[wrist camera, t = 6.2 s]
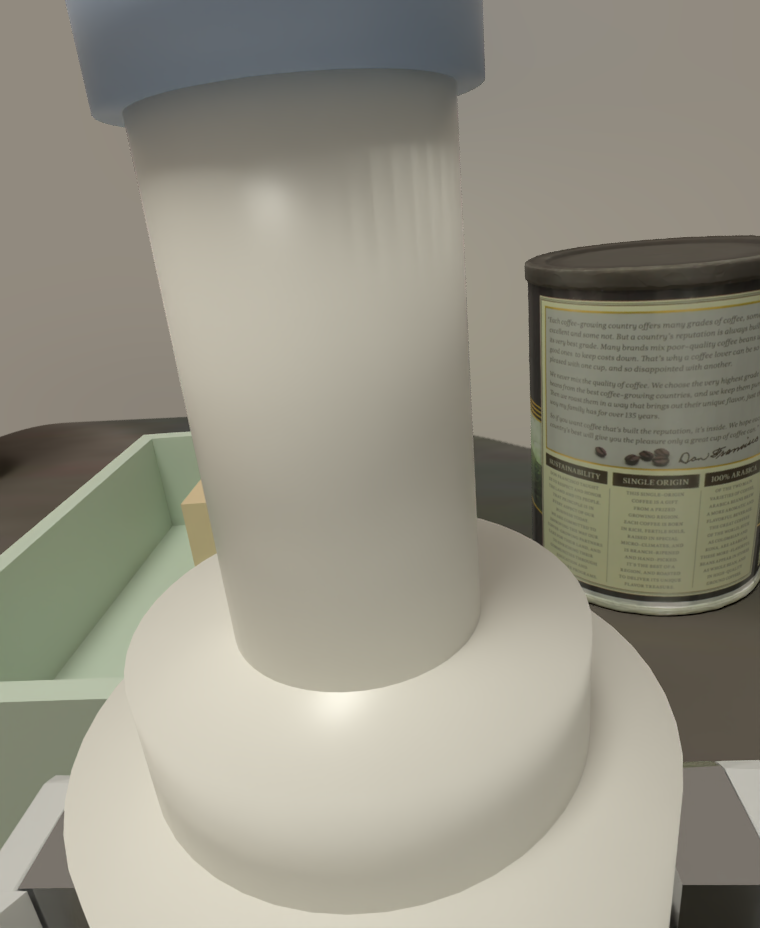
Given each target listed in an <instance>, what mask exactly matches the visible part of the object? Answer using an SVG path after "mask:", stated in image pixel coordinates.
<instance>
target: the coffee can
mask: <svg viewBox="0 0 760 928" xmlns="http://www.w3.org/2000/svg"><path fill="white" fill-rule="evenodd" d="M525 279H526V280H527V281H528V300H529V362H530V401H531V402H530V403H531V463H532V525H533V526H532V531H533V532H532V534H533V541H535V542H537V543H538V544H540V545H541V546H543V547H544V548H546V549H547V550H549V551H550V552H551V553H553V554H554V555H555V556H556V557H557V558H558V559H559V560H560V561H561V562H563V563H564V564H565V565H566V566H567V567H568V569H569V570H570V571H571V572H572V574H573V575H574V576H575V578H576V579H577V580H578V582H579V584H580V585H581V587H582V589H583V591H584V593H585V595H586V597H587V600H588V602H589V603H592V604H595V605H598V606H601V607H605V608H609V609H612V610H616V611H621V612H631V613H639V614H644V615H684V614H694V613H701V612H705V611H710V610H715V609H719V608H722V607H723V606H726V605H729V604H731V603H733V602H736V601H738V600H739V599H741V598H743V597H745V596H746V595H748V594H749V593H750V592H751V591H752V590H753V589H754V588H755V586H756V585H757V583H758V582H759V580H760V236H753V235H749V236H707V237H682V238H668V239H653V240H641V241H630V242H620V243H609V244H601V245H592V246H585V247H577V248H572V249H566V250H561V251H555V252H550V253H547V254H542V255H540V256H536V257H534V258H532V259H530V260H528V261H527V262H526V263H525Z"/></svg>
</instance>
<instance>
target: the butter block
mask: <svg viewBox="0 0 760 928" xmlns="http://www.w3.org/2000/svg"><path fill="white" fill-rule="evenodd" d="M181 508H182V513H183V517H184V521H185V526H186V530H187V534H188V539H189V543H190V547H191V552H192V556H193V561H194V565H195V566H197V565H198V564H200V563H201V562H203V561H204V560H206V559H208V558H209V557H211V556H213V555H215V554H216V553H217V552H216V547H215V542H214V538H213V533H212V528H211V524H210V519H209V514H208V510H207V505H206V501H205V496H204V491H203V487H202V482H201V480H200V481H199V482H198V483H197V485H196V486H195V487H194V488H193V490H192V491H191V492H190V493H189V495H188V496H187V497H186V498H185V500H184V501H183V502H182V503H181Z"/></svg>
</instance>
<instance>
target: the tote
mask: <svg viewBox="0 0 760 928" xmlns="http://www.w3.org/2000/svg"><path fill="white" fill-rule="evenodd" d="M200 480H201V477H200V473H199V468H198V463H197V459H196V454H195V449H194V445H193V440H192V435H191V432H178V433H164V434H150V435H143V436H142V437H141V438H139V439H138V440H137V441H136V442H135V443H133V444H132V445H131V446H130V447H129V448H127V449H126V450H125V451H124V452H123V453H121V454H120V455H119V456H118V457H117V458H116V459H114V460H113V461H112V462H111V463H110V464H108V465H107V466H106V467H105V468H104V469H102V470H101V471H100V472H99V473H98V474H96V475H95V476H94V477H93V478H92V479H91V480H89V481H88V482H87V483H86V484H85V485H83V486H82V487H81V488H80V489H79V490H77V491H76V492H75V493H74V494H73V495H71V496H70V497H69V498H68V499H67V500H66V501H64V502H63V503H62V504H61V505H60V506H58V507H57V508H56V509H55V510H54V511H52V512H51V513H50V514H49V515H48V516H46V517H45V518H44V519H43V520H42V521H41V522H39V523H38V524H37V525H36V526H35V527H33V528H32V529H31V530H30V531H29V532H27V533H26V534H25V535H24V536H23V537H21V538H20V539H19V540H18V541H17V542H16V543H14V544H13V545H12V546H11V547H10V548H8V549H7V550H6V551H5V552H4V553H2V554H1V555H0V850H1V848H2V847H3V845H4V844H5V842H6V841H7V839H8V838H9V836H10V835H11V833H12V832H13V830H14V829H15V827H16V826H17V824H18V823H19V821H20V820H21V818H22V817H23V815H24V813H25V812H26V810H27V809H28V807H29V806H30V804H31V803H32V801H33V800H34V798H35V797H36V795H37V794H38V792H39V791H40V789H41V788H42V786H43V785H44V784H45V783H46V782H47V781H49V780H50V779H51V778H53V777H54V776H56V775H71V770H72V767H73V765H74V762H75V759H76V757H77V754H78V751H79V749H80V746H81V744H82V741H83V739H84V737H85V735H86V733H87V731H88V730H89V728H90V726H91V724H92V722H93V720H94V719H95V717H96V715H97V713H98V712H99V710H100V709H101V707H102V706H103V705H104V703H105V702H106V700H107V699H108V698H109V696H110V695H111V693H112V692H113V691H114V689H115V688H116V687H117V686H118V684H119V683H120V682H121V681H122V680H123V679H124V668H125V661H126V654H127V651H128V648H129V645H130V642H131V639H132V637H133V634H134V632H135V631H136V629H137V627H138V625H139V623H140V622H141V620H142V618H143V617H144V615H145V614H146V613H147V611H148V610H149V609H150V607H151V606H152V605H153V604H154V602H155V601H156V600H157V599H158V598H159V597H160V596H161V595H162V594H163V593H164V592H165V591H166V590H167V589H168V588H169V587H170V586H171V585H172V584H173V583H174V582H176V581H177V580H178V579H179V578H181V577H182V576H183V575H184V574H185V573H187V572H188V571H189V570H191V569H192V568H194V567H195V565H194V561H193V556H192V552H191V547H190V543H189V539H188V534H187V530H186V526H185V521H184V517H183V513H182V508H181V503H182V502H183V501H184V500H185V498H186V497H187V496H188V495H189V493H190V492H191V491H192V490H193V488H194V487H195V486H196V485H197V483H198V482H199V481H200Z"/></svg>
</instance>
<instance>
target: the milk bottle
mask: <svg viewBox="0 0 760 928" xmlns="http://www.w3.org/2000/svg"><path fill="white" fill-rule="evenodd" d="M482 1H483V0H65V2H66V6H67V10H68V14H69V19H70V23H71V28H72V32H73V36H74V41H75V45H76V49H77V54H78V58H79V62H80V67H81V71H82V75H83V80H84V84H85V89H86V93H87V97H88V102H89V106H90V110H91V115H92V116H93V117H94V118H95V119H96V120H98V121H100V122H102V123H106V124H110V125H114V126H120V127H125V128H126V132H127V137H128V142H129V146H130V151H131V156H132V160H133V165H134V170H135V174H136V179H137V184H138V188H139V193H140V197H141V202H142V207H143V212H144V216H145V221H146V225H147V230H148V235H149V239H150V244H151V249H152V254H153V258H154V263H155V268H156V272H157V277H158V281H159V286H160V291H161V295H162V300H163V305H164V309H165V314H166V319H167V323H168V328H169V333H170V337H171V342H172V347H173V351H174V356H175V360H176V365H177V370H178V375H179V379H180V384H181V389H182V393H183V398H184V402H185V407H186V412H187V417H188V421H189V426H190V431H191V435H192V440H193V445H194V449H195V454H196V459H197V463H198V468H199V473H200V477H201V482H202V487H203V491H204V496H205V501H206V505H207V510H208V514H209V519H210V524H211V528H212V533H213V538H214V542H215V547H216V552H217V553H216V554H215V555H213V556H211V557H209V558H208V559H206V560H204V561H203V562H201V563H200V564H198V565H197V566H195V567H194V568H192V569H191V570H189V571H188V572H187V573H185V574H184V575H183V576H182V577H181V578H179V579H178V580H177V581H176V582H174V583H173V584H172V585H171V586H170V587H169V588H168V589H167V590H166V591H165V592H164V593H163V594H162V595H161V596H160V597H159V598H158V599H157V600H156V601H155V602H154V604H153V605H152V606H151V607H150V609H149V610H148V611H147V613H146V614H145V615H144V617H143V618H142V620H141V622H140V623H139V625H138V627H137V629H136V631H135V632H134V634H133V637H132V639H131V642H130V645H129V648H128V651H127V654H126V661H125V668H124V679H123V680H122V681H121V682H120V683H119V684H118V686H117V687H116V688H115V689H114V691H113V692H112V693H111V695H110V696H109V698H108V699H107V700H106V702H105V703H104V705H103V706H102V707H101V709H100V710H99V712H98V713H97V715H96V717H95V719H94V720H93V722H92V724H91V726H90V728H89V730H88V731H87V733H86V735H85V737H84V739H83V741H82V744H81V746H80V749H79V751H78V754H77V757H76V759H75V762H74V765H73V767H72V770H71V775H70V779H69V784H68V789H67V793H66V798H65V808H64V832H63V836H64V843H65V850H66V857H67V864H68V870H69V873H70V876H71V879H72V881H73V884H74V887H75V890H76V893H77V895H78V898H79V901H80V904H81V907H82V909H83V912H84V914H85V917H86V919H87V922H88V924H89V927H90V928H669V925H670V915H671V905H672V895H673V885H674V875H675V865H676V855H677V845H678V835H679V825H680V815H681V805H682V795H683V754H682V749H681V744H680V739H679V734H678V729H677V724H676V721H675V718H674V716H673V713H672V710H671V708H670V705H669V703H668V700H667V697H666V695H665V693H664V691H663V689H662V688H661V686H660V684H659V683H658V681H657V679H656V677H655V676H654V674H653V672H652V671H651V669H650V668H649V666H648V665H647V664H646V662H645V661H644V660H643V659H642V657H641V656H640V655H639V654H638V652H637V651H636V650H635V649H634V647H633V646H632V645H631V644H630V643H629V642H628V641H627V640H626V639H625V638H624V637H623V636H621V635H620V634H619V633H618V632H617V631H616V630H615V629H614V628H613V627H612V626H611V625H610V624H608V623H607V622H606V621H604V620H603V619H602V618H600V617H599V616H598V615H596V614H595V613H594V612H592V611H591V610H590V607H589V604H588V600H587V597H586V595H585V593H584V591H583V589H582V587H581V585H580V584H579V582H578V580H577V579H576V578H575V576H574V575H573V574H572V572H571V571H570V570H569V569H568V567H567V566H566V565H565V564H564V563H563V562H561V561H560V560H559V559H558V558H557V557H556V556H555V555H554V554H553V553H551V552H550V551H549V550H547V549H546V548H544V547H543V546H541V545H540V544H538V543H537V542H535V541H533V540H532V539H530V538H528V537H526V536H524V535H522V534H520V533H518V532H516V531H513V530H511V529H509V528H506V527H504V526H501V525H498V524H495V523H492V522H489V521H486V520H483V519H479V518H477V512H476V491H475V469H474V448H473V426H472V405H471V385H470V363H469V341H468V322H467V321H468V320H467V298H466V276H465V256H464V234H463V213H462V191H461V170H460V147H459V129H458V128H459V127H458V105H457V96H459V95H461V94H464V93H467V92H469V91H471V90H473V89H475V88H476V87H478V86H480V85H481V84H482V83H483V82H484V80H485V59H484V29H483V2H482Z"/></svg>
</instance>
